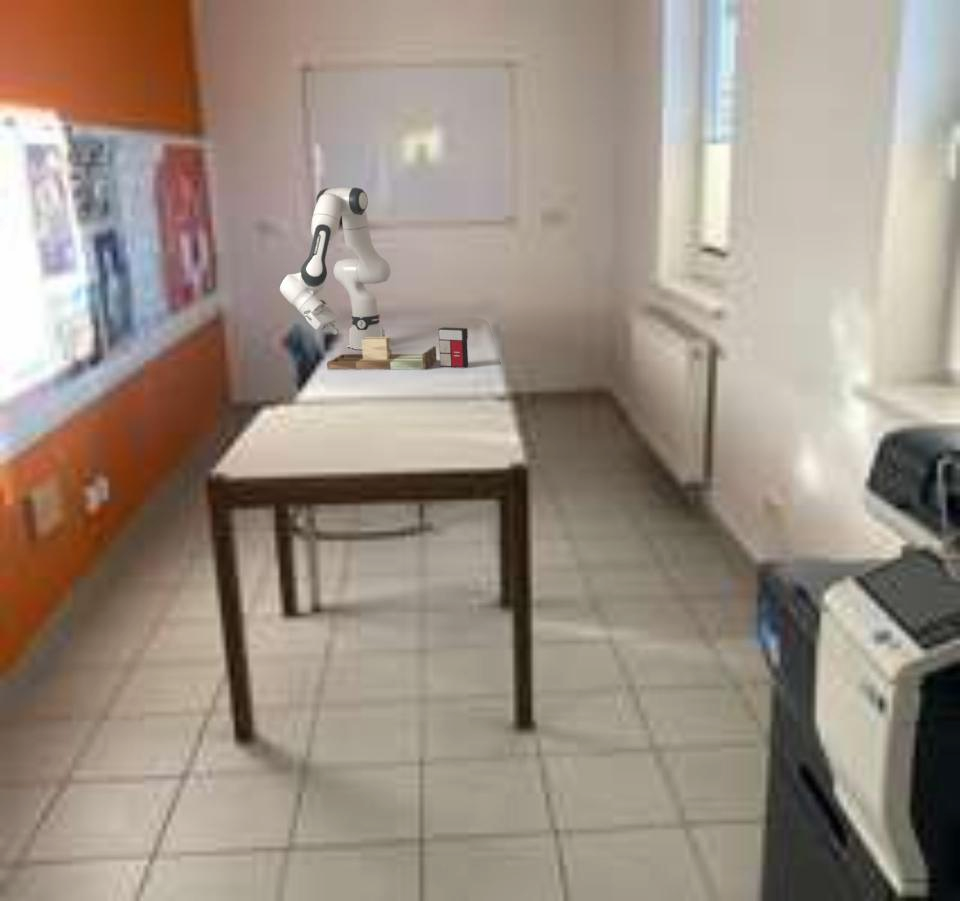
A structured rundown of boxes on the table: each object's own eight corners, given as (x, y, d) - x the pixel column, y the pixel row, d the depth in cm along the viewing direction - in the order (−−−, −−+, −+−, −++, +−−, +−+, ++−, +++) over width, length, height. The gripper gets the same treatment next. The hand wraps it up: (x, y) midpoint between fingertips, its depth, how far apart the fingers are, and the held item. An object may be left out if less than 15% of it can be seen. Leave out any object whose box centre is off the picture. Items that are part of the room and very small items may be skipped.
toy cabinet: (439, 367, 388) (437, 328, 384) (444, 365, 391) (442, 327, 387) (463, 368, 383) (462, 329, 379) (469, 366, 386) (467, 328, 382)
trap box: (342, 361, 408) (341, 347, 407) (436, 361, 400) (435, 346, 399) (327, 369, 391) (326, 354, 390) (425, 369, 383) (424, 354, 382)
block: (367, 356, 399) (366, 337, 397) (391, 356, 397) (390, 336, 395) (363, 359, 394) (361, 339, 391) (387, 359, 392) (385, 339, 389)
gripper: (307, 306, 384) (333, 331, 385) (325, 300, 404) (350, 323, 404) (297, 317, 386) (323, 342, 387) (316, 311, 406) (340, 334, 406)
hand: (337, 333), depth 396 cm, fingers closed
